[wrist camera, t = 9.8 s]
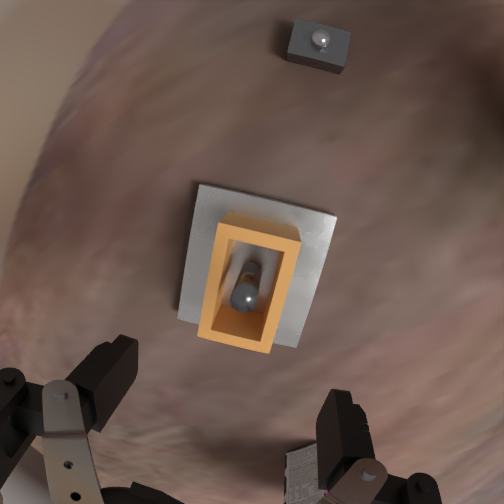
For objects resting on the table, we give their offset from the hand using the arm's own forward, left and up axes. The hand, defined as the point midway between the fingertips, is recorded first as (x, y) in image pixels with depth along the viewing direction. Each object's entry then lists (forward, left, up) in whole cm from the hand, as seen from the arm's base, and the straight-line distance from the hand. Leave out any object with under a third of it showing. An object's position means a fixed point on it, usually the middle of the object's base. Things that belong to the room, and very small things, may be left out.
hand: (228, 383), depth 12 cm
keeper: (0, 0, -14) cm, 14 cm away
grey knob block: (-1, -18, -14) cm, 22 cm away
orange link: (0, 0, -12) cm, 12 cm away
